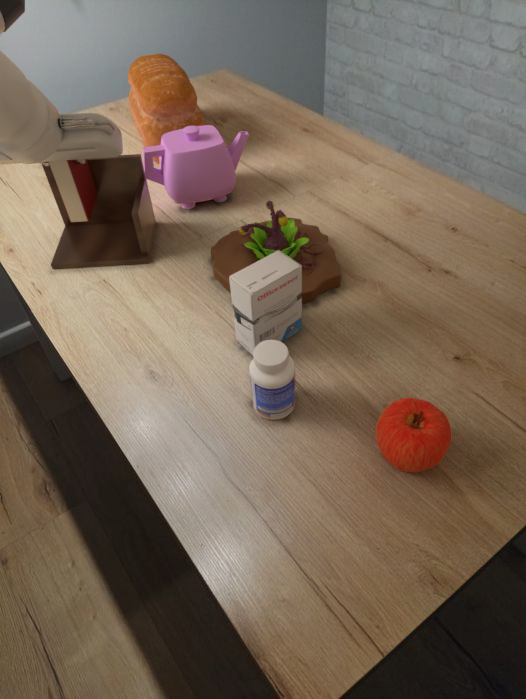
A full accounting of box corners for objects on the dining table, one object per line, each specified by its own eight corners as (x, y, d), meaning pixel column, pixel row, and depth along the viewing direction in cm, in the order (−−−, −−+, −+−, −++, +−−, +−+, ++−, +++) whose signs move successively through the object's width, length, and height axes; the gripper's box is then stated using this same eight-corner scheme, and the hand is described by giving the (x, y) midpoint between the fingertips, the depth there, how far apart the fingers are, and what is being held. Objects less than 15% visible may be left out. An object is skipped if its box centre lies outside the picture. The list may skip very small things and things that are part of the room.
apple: (411, 412, 63) (424, 371, 57) (457, 463, 58) (476, 423, 52) (358, 440, 61) (365, 399, 55) (401, 495, 56) (414, 457, 50)
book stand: (52, 269, 85) (22, 199, 76) (67, 227, 93) (42, 159, 84) (148, 263, 85) (131, 193, 76) (156, 222, 93) (140, 153, 84)
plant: (239, 324, 75) (233, 263, 66) (199, 250, 87) (190, 190, 79) (361, 286, 79) (369, 224, 71) (306, 221, 92) (308, 161, 83)
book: (70, 223, 82) (43, 151, 73) (80, 195, 87) (56, 125, 78) (89, 222, 82) (64, 149, 73) (98, 194, 87) (75, 123, 78)
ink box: (280, 312, 76) (278, 246, 68) (302, 330, 74) (304, 264, 65) (234, 340, 73) (226, 275, 64) (256, 360, 70) (251, 294, 61)
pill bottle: (303, 409, 64) (305, 357, 57) (265, 428, 63) (262, 377, 55) (280, 380, 68) (279, 328, 60) (244, 397, 66) (239, 346, 59)
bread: (152, 171, 106) (135, 94, 95) (130, 120, 123) (114, 50, 111) (215, 158, 108) (206, 82, 97) (185, 110, 125) (175, 40, 114)
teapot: (157, 221, 93) (142, 155, 84) (145, 188, 102) (130, 123, 92) (261, 198, 97) (258, 132, 88) (241, 167, 105) (236, 104, 96)
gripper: (104, 92, 63) (133, 134, 77) (-61, 103, 63) (-3, 142, 77) (108, 144, 64) (136, 176, 77) (-57, 155, 64) (0, 185, 78)
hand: (65, 159), depth 77 cm, fingers closed on book, 3 cm apart
